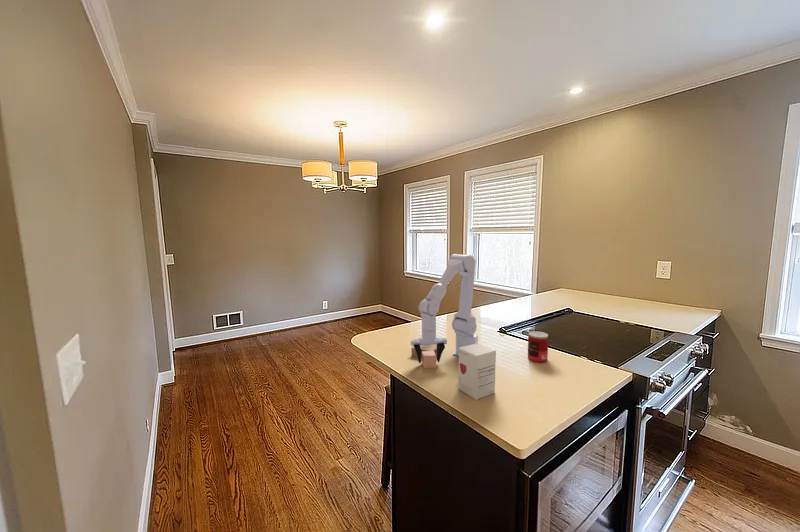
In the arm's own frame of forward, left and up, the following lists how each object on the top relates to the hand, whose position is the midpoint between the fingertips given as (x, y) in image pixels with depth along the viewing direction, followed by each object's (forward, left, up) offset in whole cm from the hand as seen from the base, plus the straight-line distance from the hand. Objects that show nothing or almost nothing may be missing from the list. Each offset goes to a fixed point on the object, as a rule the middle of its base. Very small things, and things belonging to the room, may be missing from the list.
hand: (428, 361), depth 132 cm
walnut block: (+5, -11, -2) cm, 12 cm away
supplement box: (-22, +14, -2) cm, 26 cm away
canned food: (-40, -23, -2) cm, 46 cm away
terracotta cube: (0, 0, -2) cm, 2 cm away
